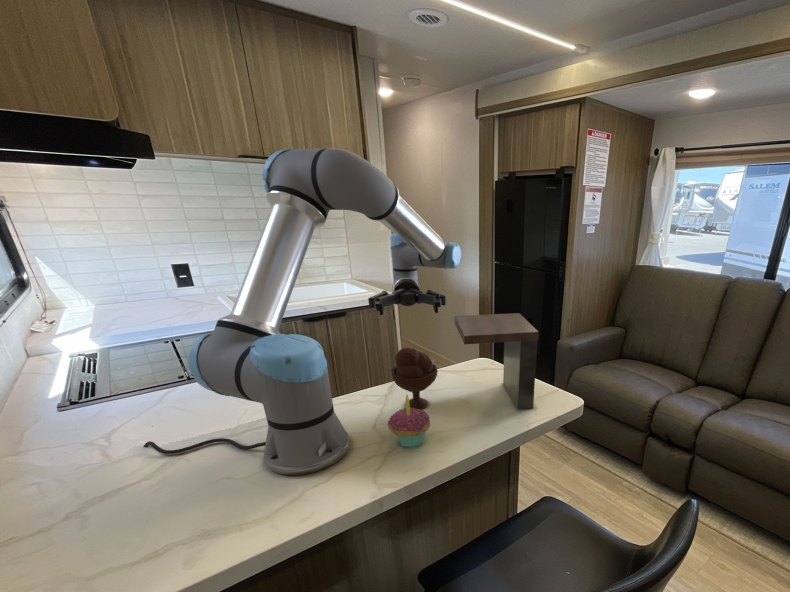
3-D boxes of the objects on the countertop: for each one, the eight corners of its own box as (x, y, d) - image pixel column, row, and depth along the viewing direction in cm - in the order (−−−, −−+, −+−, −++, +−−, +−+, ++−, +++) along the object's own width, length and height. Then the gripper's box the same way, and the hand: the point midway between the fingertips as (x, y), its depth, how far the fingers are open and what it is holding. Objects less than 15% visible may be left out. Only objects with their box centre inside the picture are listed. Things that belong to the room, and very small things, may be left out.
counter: (465, 416, 95) (464, 335, 87) (456, 387, 109) (454, 316, 101) (533, 409, 99) (538, 331, 91) (516, 382, 113) (519, 313, 105)
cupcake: (433, 449, 82) (430, 397, 77) (390, 455, 80) (384, 402, 75) (428, 427, 90) (425, 379, 85) (389, 432, 88) (384, 383, 83)
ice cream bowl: (416, 420, 93) (411, 360, 87) (385, 405, 99) (378, 348, 93) (448, 403, 100) (446, 347, 94) (417, 391, 107) (413, 337, 100)
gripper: (449, 302, 123) (458, 321, 104) (364, 304, 118) (358, 325, 99) (448, 277, 120) (458, 292, 101) (361, 279, 115) (354, 295, 96)
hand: (409, 308), depth 100 cm, fingers open, 13 cm apart
